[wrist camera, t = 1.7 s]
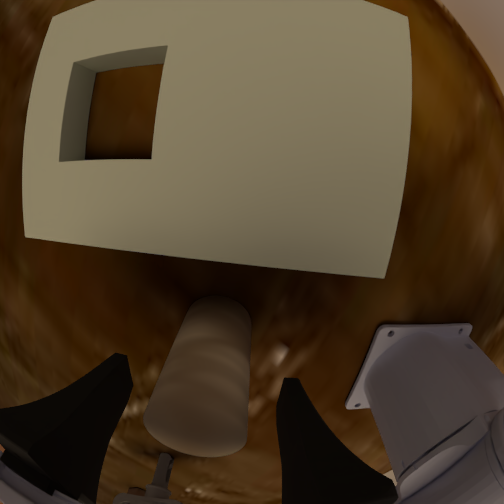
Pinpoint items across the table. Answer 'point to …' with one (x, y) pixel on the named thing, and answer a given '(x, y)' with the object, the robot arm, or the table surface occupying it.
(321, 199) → the socket board
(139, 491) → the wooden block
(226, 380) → the birch peg
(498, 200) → the table surface
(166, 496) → the mechanical component
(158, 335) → the table surface
